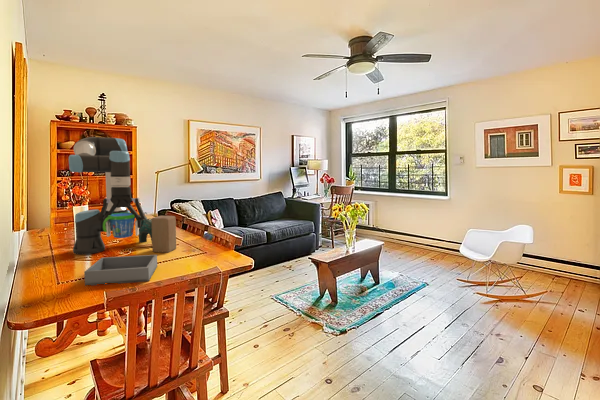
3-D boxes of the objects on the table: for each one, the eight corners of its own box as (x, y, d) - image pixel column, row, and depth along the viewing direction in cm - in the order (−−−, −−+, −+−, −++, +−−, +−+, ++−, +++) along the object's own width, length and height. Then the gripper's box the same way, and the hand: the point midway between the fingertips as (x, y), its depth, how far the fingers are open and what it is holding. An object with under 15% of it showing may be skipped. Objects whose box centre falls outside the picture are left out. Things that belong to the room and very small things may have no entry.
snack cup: (108, 241, 129) (106, 217, 127) (99, 237, 135) (97, 214, 134) (146, 235, 140) (145, 213, 139) (136, 232, 147) (135, 211, 146)
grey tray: (85, 285, 127) (84, 271, 126) (102, 269, 146) (101, 257, 145) (148, 281, 133) (148, 267, 132) (157, 266, 152) (156, 254, 151)
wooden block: (177, 248, 185) (176, 215, 183) (168, 253, 175) (167, 218, 173) (161, 247, 186) (160, 215, 184) (151, 252, 176) (150, 217, 174)
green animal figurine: (135, 242, 199) (134, 211, 196) (145, 240, 204) (144, 210, 202) (152, 247, 187) (151, 214, 185) (162, 245, 193) (161, 213, 190)
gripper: (87, 186, 129) (90, 238, 131) (148, 186, 135) (149, 236, 137) (94, 185, 136) (96, 234, 138) (151, 185, 142) (153, 232, 145)
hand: (123, 235), depth 138 cm, fingers closed on snack cup, 11 cm apart
